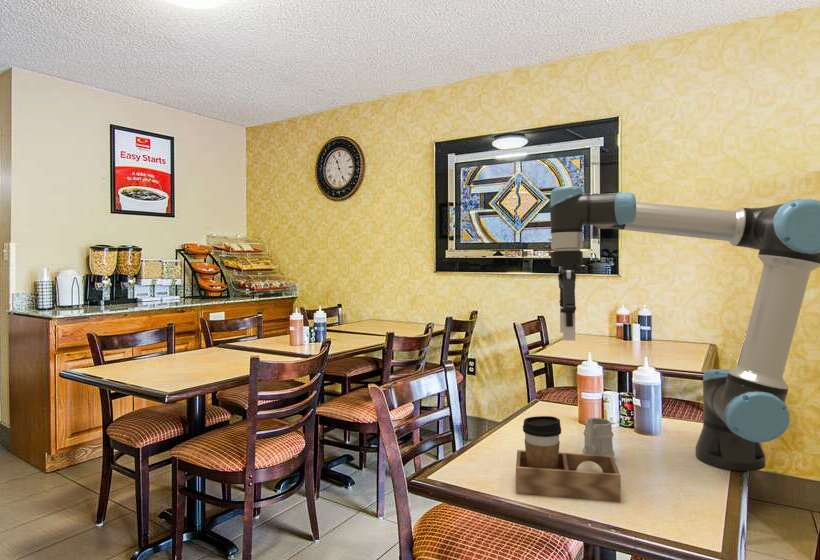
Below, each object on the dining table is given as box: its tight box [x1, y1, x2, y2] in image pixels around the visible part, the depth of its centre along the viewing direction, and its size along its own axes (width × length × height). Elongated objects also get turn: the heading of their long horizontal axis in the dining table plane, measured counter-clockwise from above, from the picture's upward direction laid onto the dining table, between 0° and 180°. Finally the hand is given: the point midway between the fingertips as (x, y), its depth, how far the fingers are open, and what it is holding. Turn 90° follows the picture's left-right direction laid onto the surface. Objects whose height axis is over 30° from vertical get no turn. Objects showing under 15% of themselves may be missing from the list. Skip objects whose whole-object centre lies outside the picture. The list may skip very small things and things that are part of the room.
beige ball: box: [576, 461, 603, 473], centre depth 115 cm, size 6×6×6 cm
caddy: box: [515, 449, 622, 503], centre depth 116 cm, size 21×11×6 cm, turn 77°
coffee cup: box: [522, 415, 562, 469], centre depth 118 cm, size 8×8×15 cm
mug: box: [582, 417, 615, 458], centre depth 133 cm, size 8×12×12 cm, turn 142°
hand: (567, 336), depth 129 cm, fingers open, 13 cm apart
